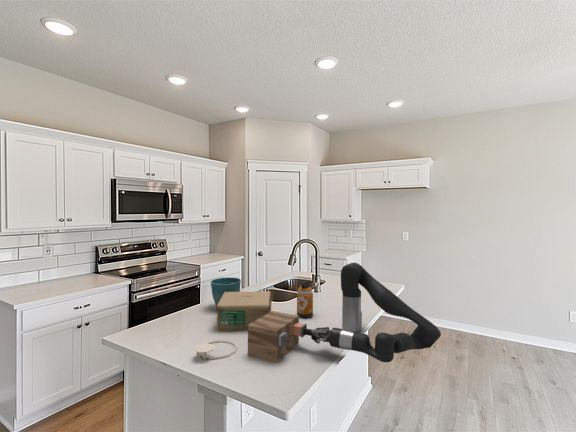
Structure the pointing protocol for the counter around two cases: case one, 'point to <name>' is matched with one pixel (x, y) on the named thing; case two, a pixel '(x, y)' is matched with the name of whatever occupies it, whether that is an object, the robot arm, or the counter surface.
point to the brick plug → (298, 329)
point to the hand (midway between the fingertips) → (304, 331)
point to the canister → (305, 300)
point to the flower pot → (224, 287)
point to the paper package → (242, 309)
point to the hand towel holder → (209, 347)
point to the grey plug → (283, 339)
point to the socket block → (271, 335)
